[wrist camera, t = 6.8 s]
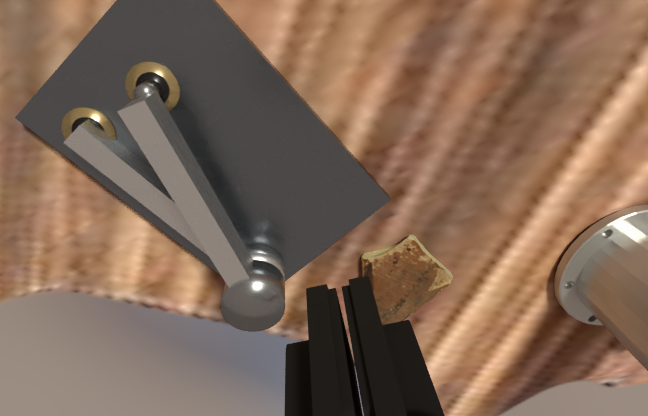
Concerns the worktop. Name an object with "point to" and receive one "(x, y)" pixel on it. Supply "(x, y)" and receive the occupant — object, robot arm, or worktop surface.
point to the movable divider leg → (205, 214)
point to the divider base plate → (206, 130)
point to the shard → (403, 278)
